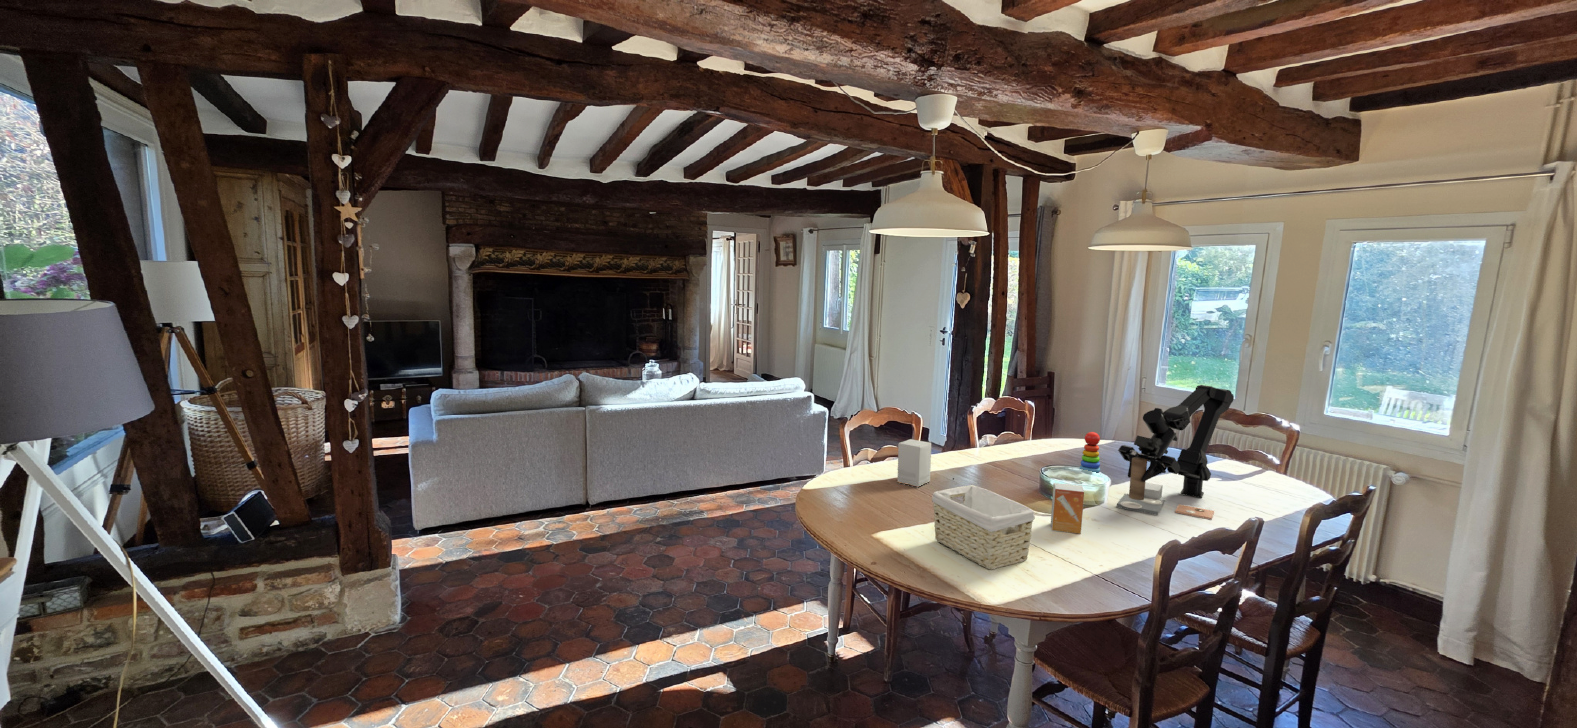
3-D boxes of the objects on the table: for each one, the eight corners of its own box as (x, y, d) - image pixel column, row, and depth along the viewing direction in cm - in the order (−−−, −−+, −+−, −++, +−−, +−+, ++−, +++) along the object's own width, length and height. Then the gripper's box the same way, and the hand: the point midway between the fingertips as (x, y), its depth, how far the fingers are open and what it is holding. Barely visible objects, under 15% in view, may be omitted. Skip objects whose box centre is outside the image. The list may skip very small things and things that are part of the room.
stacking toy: (1103, 485, 240) (1106, 435, 238) (1079, 484, 242) (1083, 434, 240) (1097, 479, 248) (1101, 430, 246) (1074, 478, 250) (1078, 429, 247)
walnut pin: (1133, 494, 221) (1137, 456, 219) (1146, 498, 217) (1150, 459, 215) (1125, 496, 218) (1129, 458, 217) (1138, 500, 215) (1142, 461, 213)
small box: (1051, 530, 197) (1054, 488, 195) (1050, 523, 203) (1053, 482, 201) (1081, 534, 195) (1084, 491, 193) (1079, 526, 201) (1082, 484, 199)
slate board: (1124, 496, 228) (1125, 493, 228) (1164, 504, 221) (1164, 500, 221) (1115, 508, 217) (1115, 504, 217) (1156, 516, 210) (1157, 512, 209)
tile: (1178, 505, 220) (1178, 503, 220) (1214, 512, 214) (1214, 510, 214) (1175, 512, 214) (1175, 510, 214) (1211, 519, 208) (1211, 517, 208)
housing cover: (1136, 491, 234) (1136, 480, 234) (1161, 496, 229) (1162, 485, 229) (1131, 497, 228) (1132, 486, 227) (1157, 502, 223) (1158, 490, 223)
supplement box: (930, 482, 242) (932, 442, 240) (918, 488, 235) (920, 447, 233) (909, 477, 248) (910, 438, 246) (896, 482, 241) (897, 442, 239)
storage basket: (1035, 562, 175) (1038, 508, 173) (988, 574, 168) (991, 518, 166) (971, 531, 196) (973, 483, 194) (927, 540, 189) (929, 490, 187)
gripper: (1124, 421, 225) (1099, 456, 221) (1178, 433, 208) (1152, 471, 204) (1136, 441, 229) (1113, 476, 226) (1190, 454, 213) (1166, 492, 209)
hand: (1135, 478), depth 216 cm, fingers closed on walnut pin, 4 cm apart
